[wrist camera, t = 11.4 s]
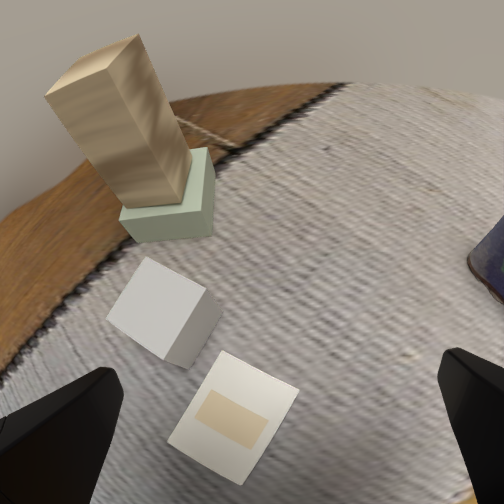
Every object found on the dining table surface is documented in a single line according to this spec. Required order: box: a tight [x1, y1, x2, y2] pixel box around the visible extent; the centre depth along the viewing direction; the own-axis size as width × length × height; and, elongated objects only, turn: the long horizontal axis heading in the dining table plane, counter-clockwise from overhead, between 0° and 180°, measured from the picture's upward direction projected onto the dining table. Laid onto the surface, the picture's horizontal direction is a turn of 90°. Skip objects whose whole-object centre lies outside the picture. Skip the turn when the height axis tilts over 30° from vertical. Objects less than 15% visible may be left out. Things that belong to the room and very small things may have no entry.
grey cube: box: [106, 257, 223, 370], centre depth 20 cm, size 5×5×5 cm
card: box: [167, 350, 299, 486], centre depth 18 cm, size 8×6×1 cm
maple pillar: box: [44, 34, 193, 209], centre depth 19 cm, size 5×5×12 cm
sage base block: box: [119, 147, 216, 243], centre depth 26 cm, size 7×7×4 cm
